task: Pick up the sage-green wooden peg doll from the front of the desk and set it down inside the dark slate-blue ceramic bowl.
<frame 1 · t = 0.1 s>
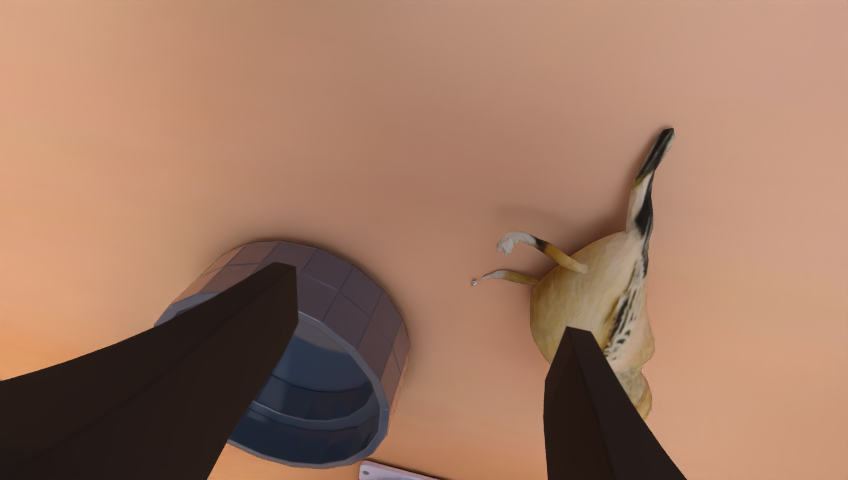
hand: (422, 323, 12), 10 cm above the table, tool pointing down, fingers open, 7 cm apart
bowl: (307, 327, 28), on the table
decorative bird model: (603, 256, 21), on the table
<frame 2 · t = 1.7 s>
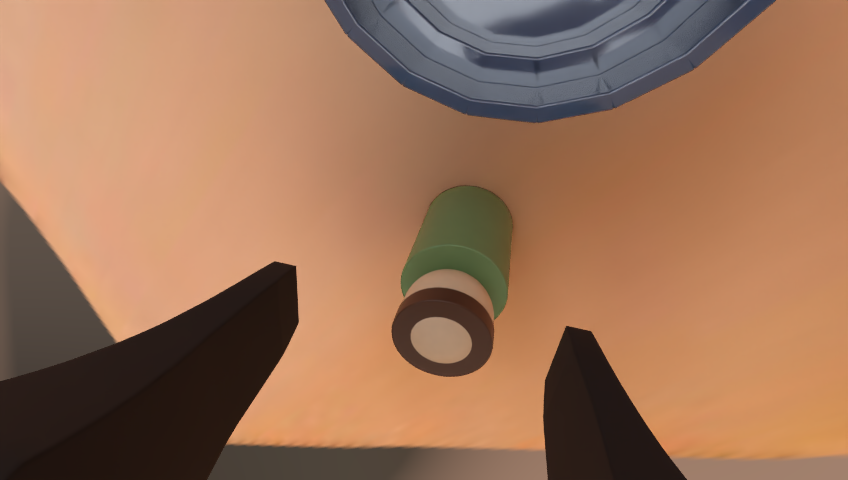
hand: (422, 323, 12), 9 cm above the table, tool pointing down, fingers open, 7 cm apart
peg doll: (468, 224, 21), on the table
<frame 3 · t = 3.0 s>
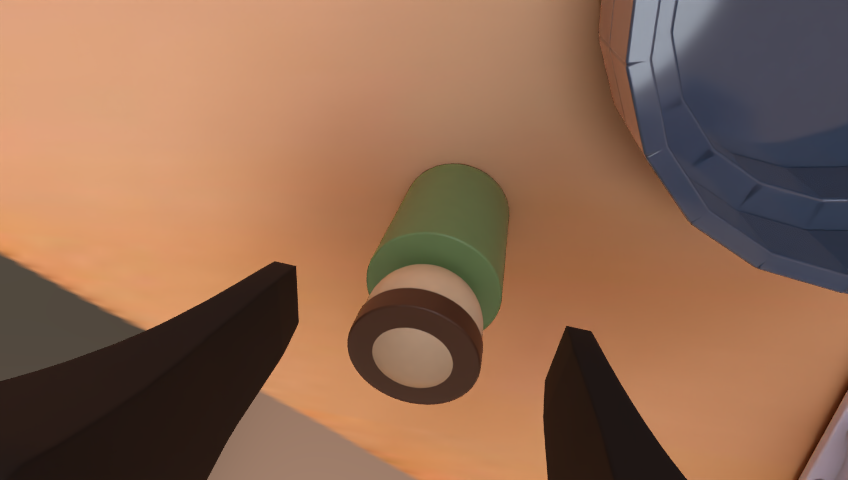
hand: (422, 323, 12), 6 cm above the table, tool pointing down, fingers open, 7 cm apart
peg doll: (455, 212, 17), on the table
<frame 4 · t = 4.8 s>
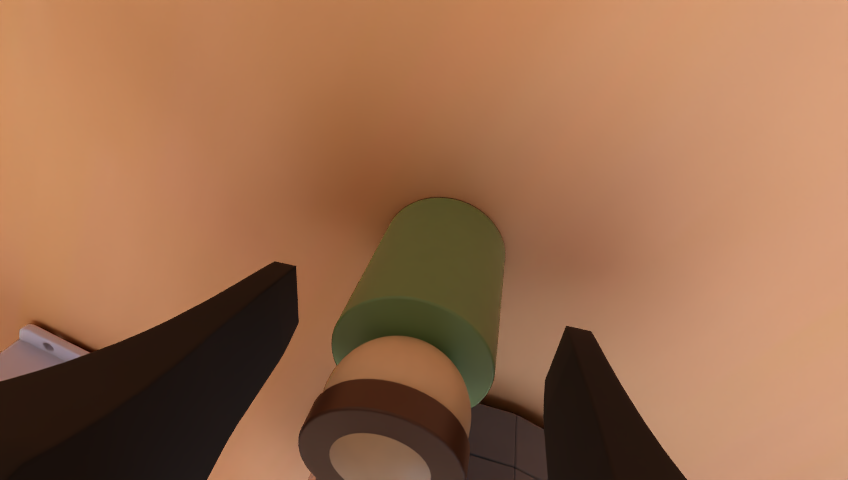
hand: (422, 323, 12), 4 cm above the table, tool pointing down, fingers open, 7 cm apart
peg doll: (443, 251, 15), on the table
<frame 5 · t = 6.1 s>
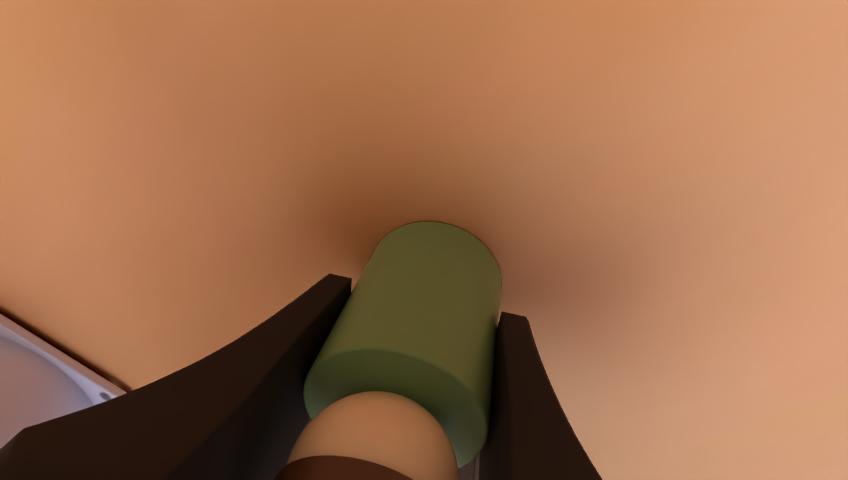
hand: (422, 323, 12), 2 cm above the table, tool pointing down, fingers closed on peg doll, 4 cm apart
peg doll: (434, 278, 14), on the table, touching gripper
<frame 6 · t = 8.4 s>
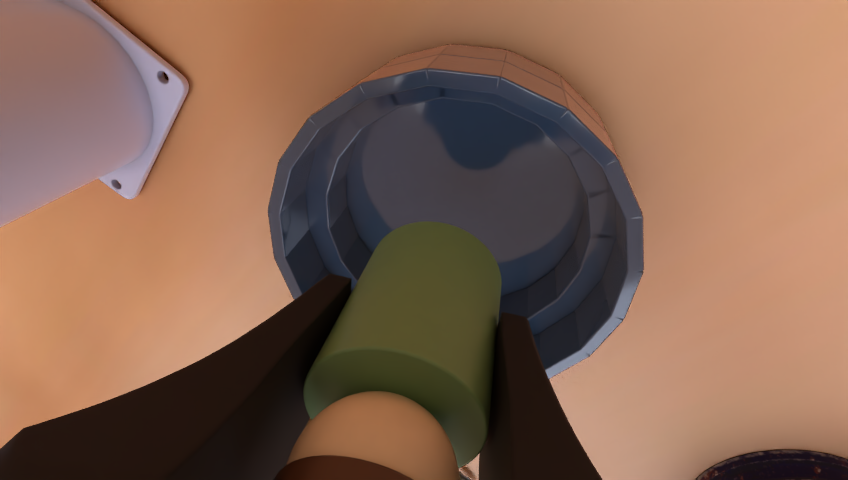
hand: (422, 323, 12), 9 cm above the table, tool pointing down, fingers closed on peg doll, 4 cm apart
peg doll: (434, 278, 14), point 7 cm above the table, touching gripper
bowl: (460, 201, 20), on the table
when the fingers open (2 cm above the table, at t = 10.6 s): peg doll stays where it is, resting on bowl.
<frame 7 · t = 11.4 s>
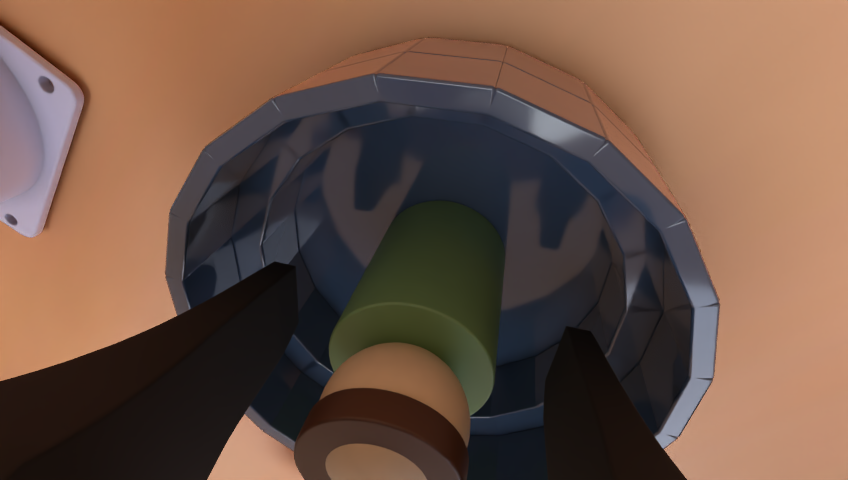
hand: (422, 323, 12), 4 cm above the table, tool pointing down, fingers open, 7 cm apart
peg doll: (443, 254, 15), resting on bowl
bowl: (446, 246, 15), on the table
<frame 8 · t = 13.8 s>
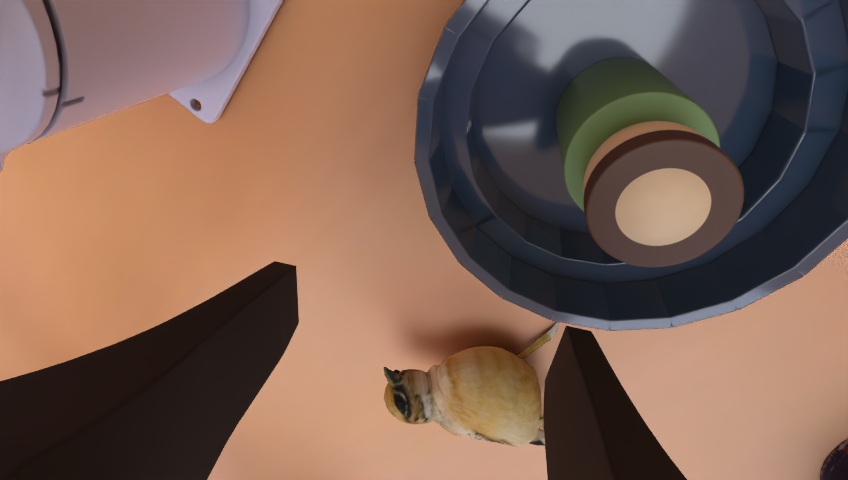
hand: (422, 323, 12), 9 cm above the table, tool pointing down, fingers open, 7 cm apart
peg doll: (611, 114, 17), resting on bowl
bowl: (610, 110, 17), on the table
decorative bird model: (507, 382, 26), on the table
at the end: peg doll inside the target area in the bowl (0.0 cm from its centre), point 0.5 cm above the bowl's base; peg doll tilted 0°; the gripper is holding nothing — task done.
